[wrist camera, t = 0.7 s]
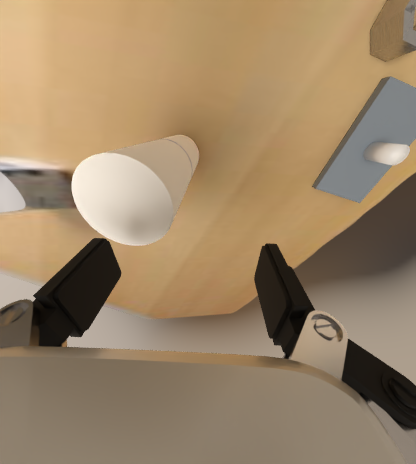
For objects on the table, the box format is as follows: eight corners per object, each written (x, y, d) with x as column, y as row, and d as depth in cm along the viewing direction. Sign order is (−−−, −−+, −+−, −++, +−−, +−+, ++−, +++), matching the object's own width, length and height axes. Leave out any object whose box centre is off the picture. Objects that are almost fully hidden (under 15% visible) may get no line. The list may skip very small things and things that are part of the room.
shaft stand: (382, 78, 26) (426, 66, 20) (436, 103, 27) (491, 97, 22) (312, 186, 35) (329, 197, 30) (354, 200, 37) (379, 213, 31)
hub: (399, -23, 21) (446, -61, 17) (440, -1, 22) (494, -31, 17) (359, 49, 24) (390, 33, 20) (395, 66, 25) (432, 54, 21)
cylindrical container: (205, 147, 32) (189, 188, 11) (189, 179, 35) (155, 257, 14) (171, 126, 30) (76, 127, 9) (158, 162, 34) (68, 222, 13)
